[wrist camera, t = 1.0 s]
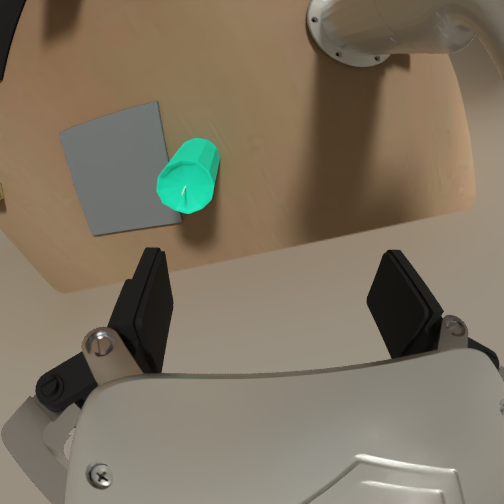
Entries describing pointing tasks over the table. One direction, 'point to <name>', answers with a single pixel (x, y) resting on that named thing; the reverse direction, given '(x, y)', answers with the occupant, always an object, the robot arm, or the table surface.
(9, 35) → the cell phone
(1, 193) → the alphabet block
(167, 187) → the candle
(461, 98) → the table surface
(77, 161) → the mat
